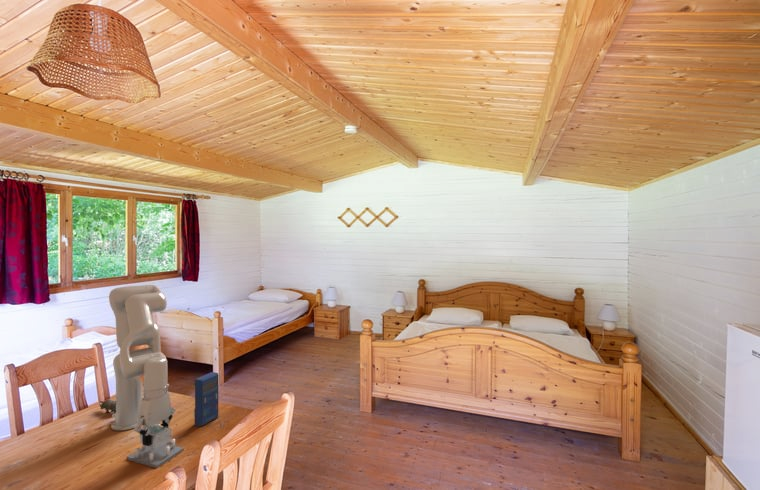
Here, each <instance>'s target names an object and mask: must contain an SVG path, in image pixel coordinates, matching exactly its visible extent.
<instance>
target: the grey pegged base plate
mask: <svg viewBox="0 0 760 490" xmlns="http://www.w3.org/2000/svg"><path fill="white" fill-rule="evenodd" d="M141 446H142V447H141V448H140V447H137V448H135V451H134V452H132V453H131V454H128V455H127V456H126V460H128V461H132V462H134V463H138V464H141V465H144V466H148V467H152V468H156V469H157V468H159V467H161V466H163V465H164V464H165V463H167V462H168V461H170V460H172V459H173V458H175V457H176V456H177V455H179V454H181V453H182V452H184V450H185V448H184V447H181V446H177V445H176V438H171V441H170V444H168V443H167V444H165V445H163V446H161V447H159V448H157V449H153V448H151V447H148V446H146V445H143V444H142V445H141Z"/></svg>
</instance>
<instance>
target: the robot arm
mask: <svg viewBox="0 0 760 490" xmlns="http://www.w3.org/2000/svg"><path fill="white" fill-rule="evenodd" d="M108 301H109V305H110V307H111V310H112V312H113V314H114V317H115V333H116V334H115V336H116V337H115V338H116V344H117V347H118V348H119V353H118V354H117V355H115V357H114V358H113V363H112V366H113V372H114V378H115V401H116V414H113V413H112V414H113V415H112V414H111V416H112V417H113V418H114V421H113V422H111V429H112V430H113V431H127V430H132V429H133V430H134V431H135V432H136V433H137V434H141V435H142V443H143V445H146V446H150V445H151V435H150V434H149V433H150V430H151V427H152V426H153V425H155V424H160V423H161V424H160V425H162V426H165V427H167V428H169V425H170V424H171V420H172V419H173V416H174V414H175V412H176V409H175V408H173V407H172V403H171V396H170V392H169V391H168V390H169V389H168V388H169V387H170V383H169V382H168V371H169V370H168V359H167V357H166V355H165V354H164V353H163V352H162V348H161V346H162V345H161V332H160V327H159V326H158V324H157V323H155V319H154V315H153V313H160V312H164V311H165V310H166V308H167V305H168V304H167V298H166V296H165V294H164V293H163V291H162V290H161V289H160V288H159V287H158V286H157V285H154V284H142V285H141V284H140V285H129V286H127V285H126V286H120V287H115V288H114V289H112V290H110V292H109V296H108ZM139 346H147V347H142V348H137V349H132V350H130V348H135V347H139ZM141 376H143V379H142V377H141ZM146 428H147V430H146ZM145 430H146V431H145Z"/></svg>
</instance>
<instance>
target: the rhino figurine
mask: <svg viewBox="0 0 760 490" xmlns="http://www.w3.org/2000/svg"><path fill="white" fill-rule="evenodd" d="M99 402H100V403H99V407H100V410H105V412H104V414H109V413H110V412H111V416H112V415H113V414H116V400H112V399H111V398H110V399H109V398H107V399H105V400H104V401H102V400H100V401H99ZM109 411H110V412H109ZM112 412H113V413H112Z"/></svg>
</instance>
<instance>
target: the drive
mask: <svg viewBox="0 0 760 490" xmlns="http://www.w3.org/2000/svg"><path fill="white" fill-rule="evenodd" d="M146 430H147V428H146ZM146 430H145V431H146ZM149 434H150V435H151V445H150V446H148V447H151V448H153V449H157V448H159V447H161V446H163V445H165V444H168V443H171V440H172V428H171V427H170V428H169V427H168V428H167V427H165V426H162V425H161V424H160V423H157V424H155V425H153V426H152V427H151V430H150V433H149ZM139 438H140V439H139V441H140V442H139V443H140V444H143V443H142V435H141V434H140V436H139Z"/></svg>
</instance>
